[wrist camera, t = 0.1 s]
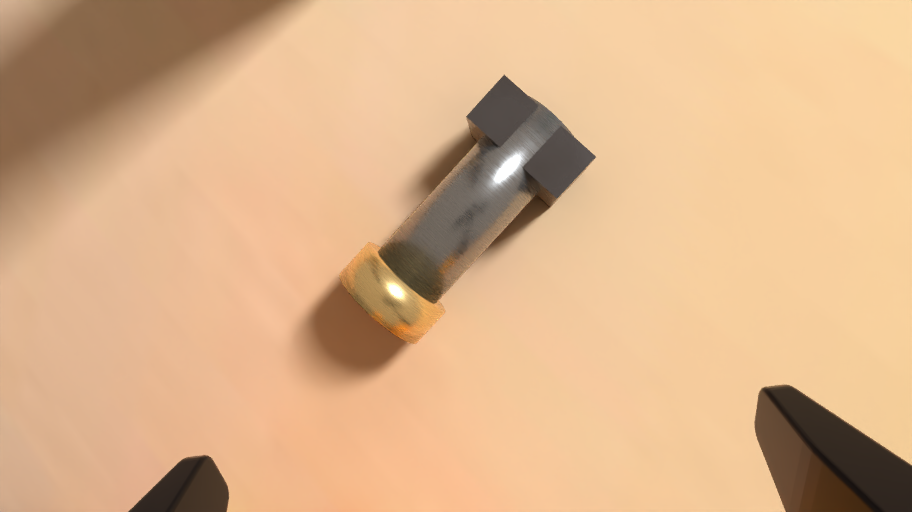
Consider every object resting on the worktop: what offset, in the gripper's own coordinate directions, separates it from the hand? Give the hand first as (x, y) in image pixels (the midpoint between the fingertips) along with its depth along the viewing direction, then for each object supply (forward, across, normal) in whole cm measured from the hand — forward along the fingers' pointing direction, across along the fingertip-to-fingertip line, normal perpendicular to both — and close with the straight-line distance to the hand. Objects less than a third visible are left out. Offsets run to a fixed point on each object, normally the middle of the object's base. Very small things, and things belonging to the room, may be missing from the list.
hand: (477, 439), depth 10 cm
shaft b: (+15, 0, +4) cm, 16 cm away
